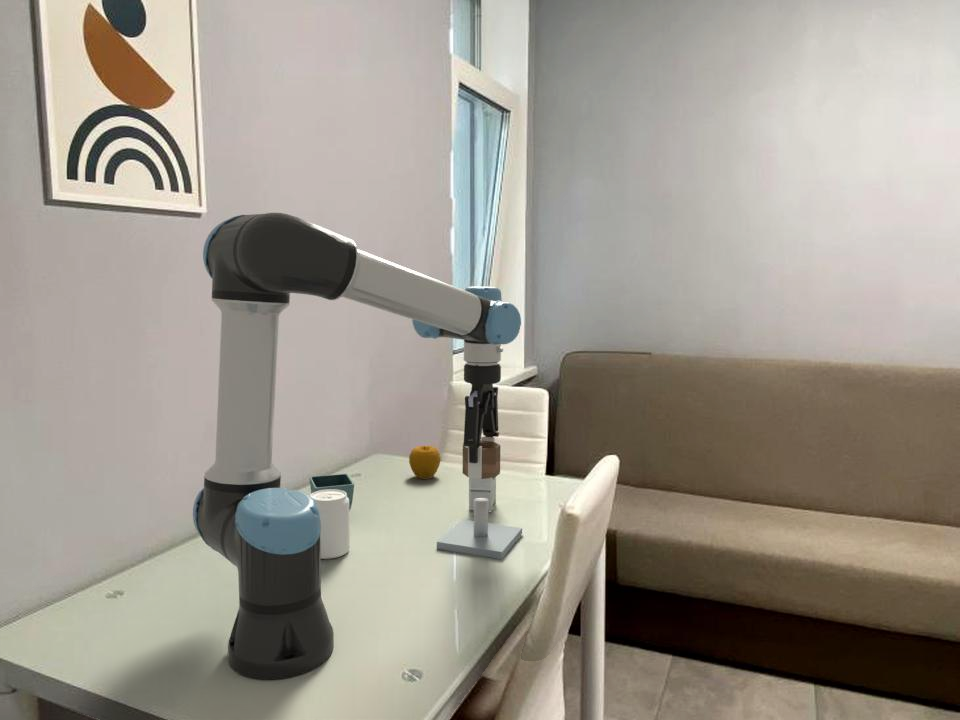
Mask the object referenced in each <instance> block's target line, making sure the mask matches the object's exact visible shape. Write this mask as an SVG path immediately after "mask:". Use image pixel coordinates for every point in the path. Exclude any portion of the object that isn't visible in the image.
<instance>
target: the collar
mask: <svg viewBox="0 0 960 720" xmlns="http://www.w3.org/2000/svg"><path fill="white" fill-rule="evenodd" d="M480 446H482V478H481V479H486V478H494V477H496V478H497V477H498V476H499V475H500V474H501V444H499V443H497V442H496V441H495V442H490V441H481V442H480ZM462 474H463V475H464V476H466V477H467V478H469V477H468V446H464V445H463V444H462ZM477 479H478V478H477Z"/></svg>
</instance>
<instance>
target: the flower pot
mask: <svg viewBox="0 0 960 720" xmlns="http://www.w3.org/2000/svg"><path fill="white" fill-rule="evenodd" d="M309 485H310V495H311V494H312V493H313V492H316V491H320V490H326V489H336V490H342V491H344V492H346V494H347V497H348V499H349V512H351V509H352V504H353V499H354V492H355V491H354V490H355V483H354V482H353V480H352V479H351V477H350V475H349V474H348V473H337V474H328V475H313V476H309Z"/></svg>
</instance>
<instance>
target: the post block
mask: <svg viewBox="0 0 960 720" xmlns="http://www.w3.org/2000/svg"><path fill="white" fill-rule="evenodd" d="M521 534H522V535H523V527H520V526H519V527H518V526H511V525H504V524H497V523H490V522H489V512H488V499H486V498H476V499H474V511H473V520H470V519H460V520H459V521H458V522H457V523H456V524H455V525H454V526H452V527H451V528H450V529H449V530H448V531H447V532H446V533H445V534H443V536H441V537H440V539H438V540H437V541H436V550H437V549H438V550H443V551H448V552H455V553H460V554H466V555H473V556H479V557H487V558H492V559H498V560H503V558H504V557H505V556H506V555H507V554H508V552H509V551H510V550H511V549H512V548H513V546H514V545H515V544H516V543H517V541H519V539H520V538H521V537H522V535H521ZM520 536H521V537H520ZM519 537H520V538H519ZM518 538H519V539H518ZM515 542H516V543H515ZM514 543H515V544H514Z"/></svg>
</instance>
